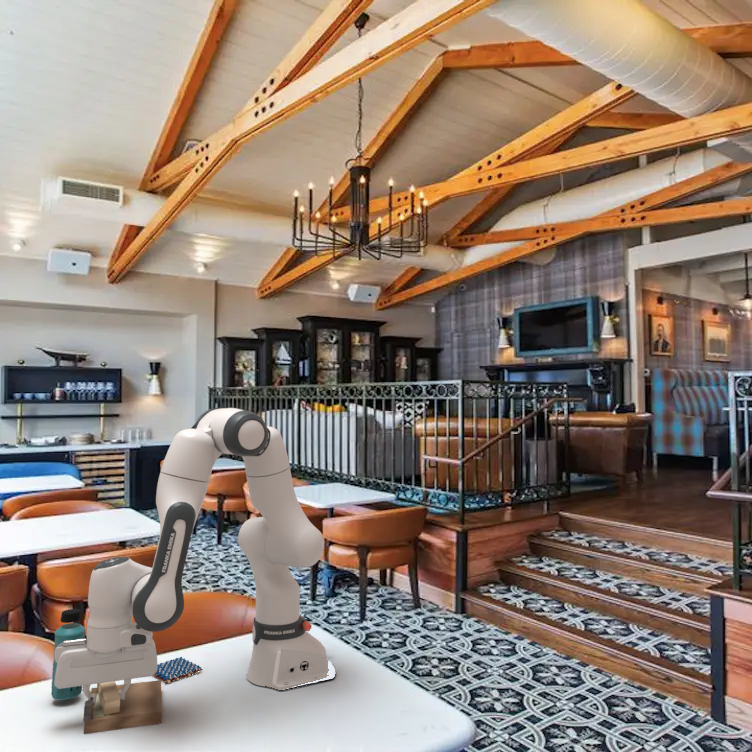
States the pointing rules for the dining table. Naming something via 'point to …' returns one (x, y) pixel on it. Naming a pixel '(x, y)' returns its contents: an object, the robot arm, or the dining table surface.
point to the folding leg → (109, 697)
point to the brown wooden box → (126, 709)
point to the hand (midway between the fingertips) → (106, 701)
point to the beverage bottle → (62, 634)
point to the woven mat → (176, 670)
